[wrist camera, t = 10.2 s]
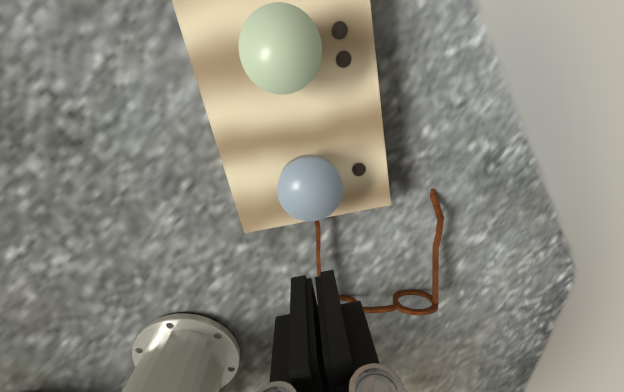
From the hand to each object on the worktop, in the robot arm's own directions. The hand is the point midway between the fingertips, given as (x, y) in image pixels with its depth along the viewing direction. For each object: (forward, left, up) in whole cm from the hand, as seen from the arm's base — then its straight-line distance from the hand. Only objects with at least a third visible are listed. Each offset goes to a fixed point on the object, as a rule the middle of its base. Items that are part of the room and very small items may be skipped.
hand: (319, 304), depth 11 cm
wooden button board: (+10, 0, -19) cm, 21 cm away
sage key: (+10, 0, -13) cm, 16 cm away
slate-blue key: (0, 0, -14) cm, 14 cm away
